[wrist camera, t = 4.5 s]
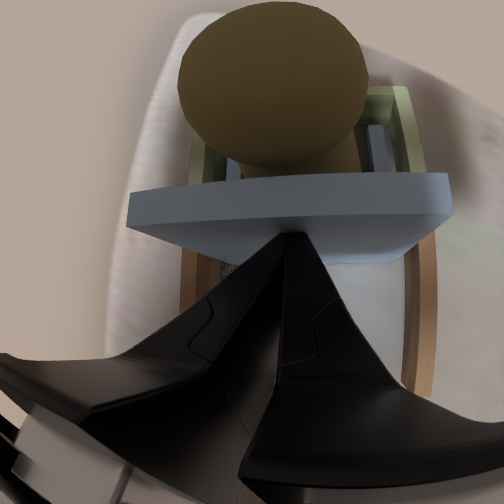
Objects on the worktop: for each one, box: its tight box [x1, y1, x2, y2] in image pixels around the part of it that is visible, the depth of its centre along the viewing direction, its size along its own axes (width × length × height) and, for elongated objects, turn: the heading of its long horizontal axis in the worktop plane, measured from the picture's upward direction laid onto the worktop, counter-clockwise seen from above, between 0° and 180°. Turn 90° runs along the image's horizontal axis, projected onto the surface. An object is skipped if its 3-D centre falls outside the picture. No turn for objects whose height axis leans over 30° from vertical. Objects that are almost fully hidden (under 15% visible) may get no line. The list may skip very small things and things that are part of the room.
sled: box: [126, 125, 454, 265], centre depth 12 cm, size 7×8×9 cm
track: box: [180, 86, 437, 397], centre depth 14 cm, size 15×11×3 cm
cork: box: [177, 2, 369, 179], centre depth 11 cm, size 6×6×11 cm
